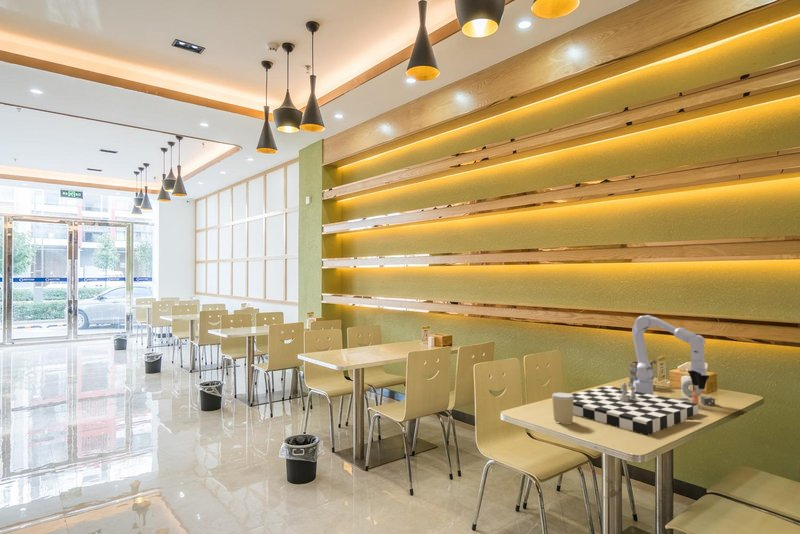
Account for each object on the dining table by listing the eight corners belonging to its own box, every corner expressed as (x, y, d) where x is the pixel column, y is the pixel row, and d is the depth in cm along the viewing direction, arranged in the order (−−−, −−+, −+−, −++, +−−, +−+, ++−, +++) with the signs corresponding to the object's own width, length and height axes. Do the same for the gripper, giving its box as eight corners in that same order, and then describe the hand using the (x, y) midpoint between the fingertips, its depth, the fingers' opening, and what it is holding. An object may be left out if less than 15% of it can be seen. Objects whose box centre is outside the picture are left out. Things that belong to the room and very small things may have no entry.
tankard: (640, 389, 260) (640, 363, 260) (623, 384, 272) (622, 359, 272) (666, 386, 266) (666, 361, 267) (648, 382, 278) (648, 357, 279)
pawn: (692, 408, 218) (692, 392, 219) (689, 406, 222) (689, 390, 222) (701, 408, 218) (700, 393, 218) (698, 406, 221) (697, 391, 221)
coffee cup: (578, 422, 202) (578, 395, 202) (564, 426, 197) (564, 398, 197) (562, 417, 210) (561, 391, 210) (547, 420, 205) (547, 393, 205)
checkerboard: (646, 436, 185) (646, 400, 186) (555, 410, 223) (554, 380, 223) (698, 417, 210) (697, 385, 210) (608, 396, 248) (607, 369, 248)
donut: (703, 398, 240) (703, 379, 240) (701, 399, 238) (701, 380, 238) (682, 395, 248) (682, 376, 248) (680, 396, 245) (680, 377, 246)
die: (704, 407, 223) (704, 398, 223) (700, 405, 228) (700, 396, 228) (715, 408, 222) (714, 399, 222) (711, 405, 227) (710, 396, 227)
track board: (689, 411, 218) (689, 408, 218) (674, 399, 238) (674, 397, 238) (706, 412, 216) (706, 409, 216) (689, 400, 236) (689, 398, 236)
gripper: (713, 362, 218) (713, 391, 218) (700, 357, 232) (701, 384, 232) (696, 362, 220) (697, 390, 219) (685, 357, 234) (686, 383, 233)
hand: (698, 387), depth 226 cm, fingers open, 7 cm apart
